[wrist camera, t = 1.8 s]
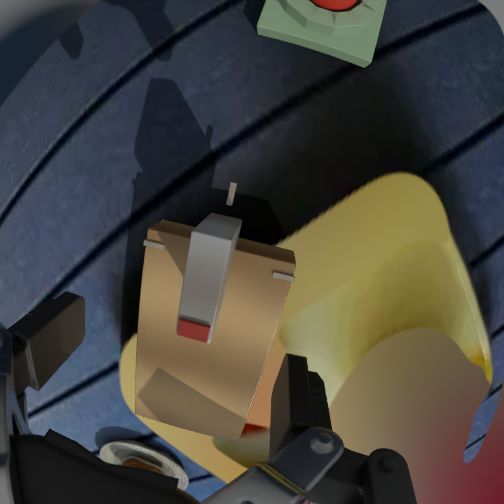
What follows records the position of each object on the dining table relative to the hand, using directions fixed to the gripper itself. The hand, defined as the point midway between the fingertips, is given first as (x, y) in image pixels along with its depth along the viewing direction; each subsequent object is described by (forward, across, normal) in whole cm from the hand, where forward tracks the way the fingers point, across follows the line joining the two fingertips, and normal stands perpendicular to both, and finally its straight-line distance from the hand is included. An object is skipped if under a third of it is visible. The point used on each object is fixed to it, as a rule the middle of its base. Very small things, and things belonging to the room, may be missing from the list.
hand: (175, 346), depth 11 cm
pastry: (+13, +5, +31) cm, 34 cm away
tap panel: (+13, 0, +6) cm, 14 cm away
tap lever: (+10, 0, 0) cm, 10 cm away
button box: (+13, -3, -20) cm, 24 cm away
